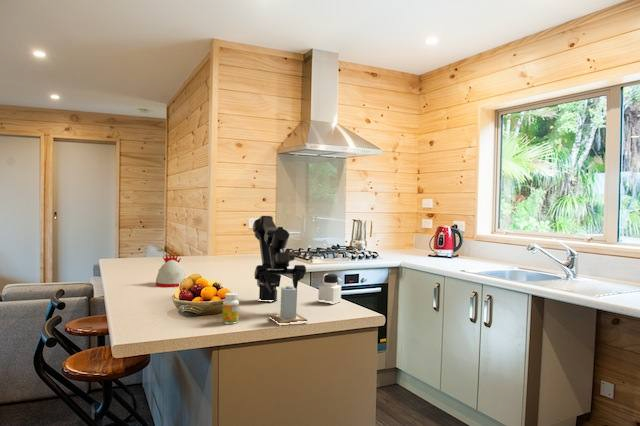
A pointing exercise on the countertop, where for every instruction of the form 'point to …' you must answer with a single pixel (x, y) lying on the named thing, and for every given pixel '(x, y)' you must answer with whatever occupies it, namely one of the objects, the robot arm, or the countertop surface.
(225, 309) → the supplement bottle
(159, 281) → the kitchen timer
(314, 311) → the countertop surface
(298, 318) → the pedestal
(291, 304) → the pillar
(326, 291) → the medicine bottle
